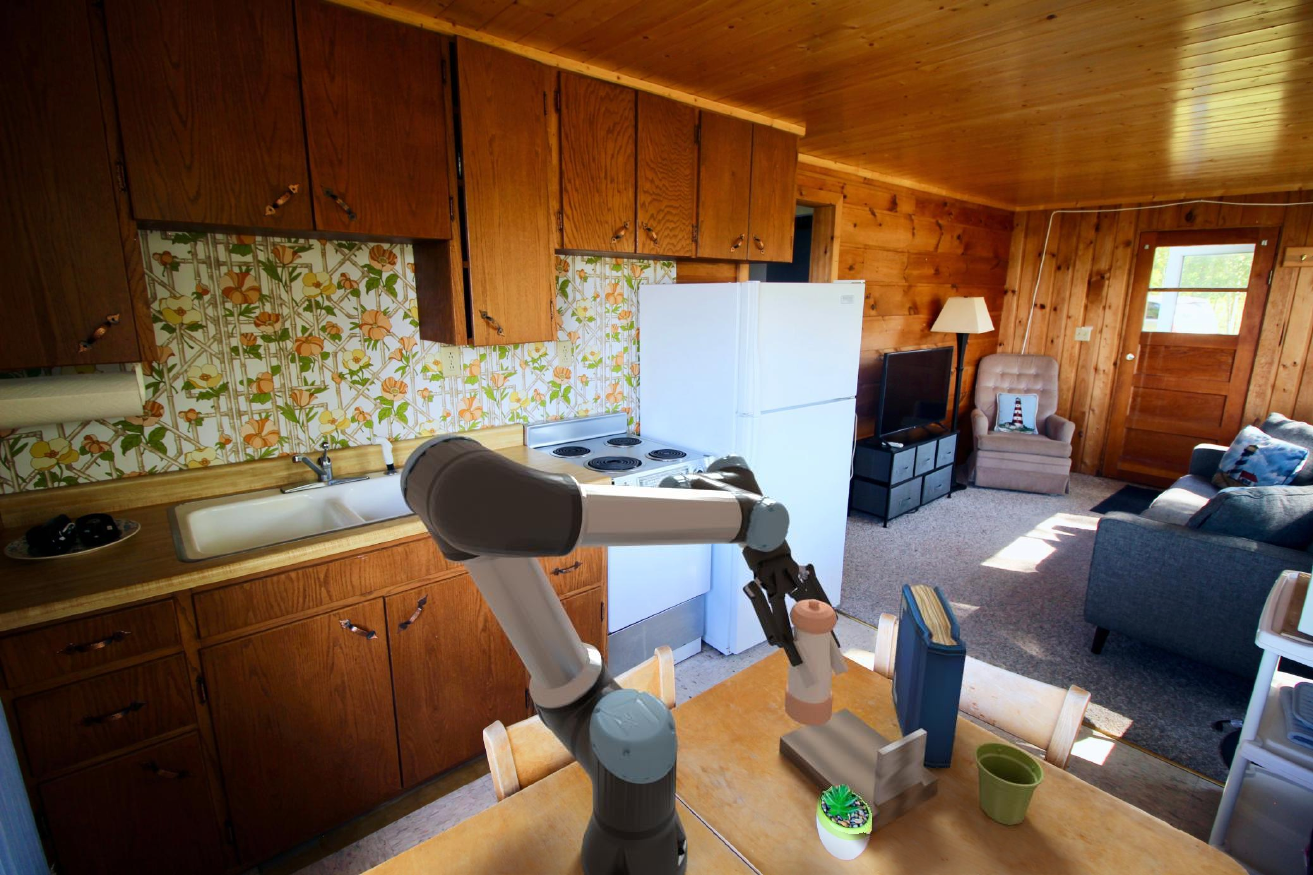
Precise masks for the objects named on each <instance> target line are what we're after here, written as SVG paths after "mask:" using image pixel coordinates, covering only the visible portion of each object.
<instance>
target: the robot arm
mask: <svg viewBox="0 0 1313 875" xmlns="http://www.w3.org/2000/svg"><path fill="white" fill-rule="evenodd" d="M399 484H400V485H399V486H400V491H401V494H402V498H403V500H404V503H405V505H406V507H407V508H408V509H409V510H410V511H411V512H412V513H413V514H415V515H417V516H418V517H419V519H420V521H421V523H422V524H423V525H424V527H425V528H426V530H427V532H428V533H429V535H430V536H431V538H432V540H433V541H434V542H435V544H436V546H437V548H438V549H439V551H440V552H441V554H442V555H443V557H444V559H446V561H448V562H450V563H454V564H463V566H464V567H465V569H466V571H467V572H468V574H469V575H470V577H471V579H472V581H473V582H474V584H475V585H476V587H477V589H478V591H479V593H480V594H481V596H482V597H483V599H484V600H485V602H486V604H487V605H488V607H489V609H490V610H491V612H492V614H493V615H494V617H495V619H496V620H497V622H498V623H499V626H500V627H501V629H502V630H503V631H504V633H505V635H506V637H507V638H508V640H509V641H510V643H511V645H512V647H513V648H514V650H515V652H516V653H517V654H518V656H519V658H520V660H521V661H522V663H523V664H524V666H525V667H526V669H527V671H528V673H529V675H530V680H529V687H528V688H529V694H530V697H531V699H532V701H533V705H534V708H535V710H536V712H537V716H538V717H539V719H540V721H541V722H542V724H544V726H545V727H546V728H547V729H548V730H550V731H551V733H552V734H553V735H554V736H555V737H556V738H557V740H559V741H560V743H561V744H562V745H563V746H564V747H565V749H566V750H567V751H568V752H569V754H570V755H571V756H572V757H573V758H574V760H575V761H576V762H577V763H578V764H579V765H580V767H581V768H582V769H583V771H584V772H585V773H586V774H587V775H588V776H589V778H590V782H591V786H592V812H591V815H590V817H589V820H588V823H587V827H586V829H585V832H584V835H583V837H582V843H581V867H582V872H583V875H685V872H686V870H687V866H688V840H687V835H686V830H685V828H684V826H683V823H682V820H681V818H680V815H679V812H678V809H677V806H676V805H677V804H676V801H677V799H676V798H677V794H676V792H677V763H678V760H677V759H678V758H677V756H678V746H679V744H678V737H677V736H678V735H677V729H676V722H675V719H674V715H673V714H672V712H671V710H670V709H669V707H668V706H667V705H666V703H665V702H664V701H663V700H662V699H660V698H659V697H657V696H656V695H654V694H652V693H650V692H648V691H646V690H645V691H642V692H639V691H638V689H635V688H623V687H622V686H621V685H620V684H619V683H618V682H617V681H616V680H615V679H614V677H613V675H612V674H611V672H610V670H609V668H608V666H607V664H606V663H605V661H604V659H603V657H602V656H601V653H600V652H599V650H598V649H597V648H596V647H595V646H594V645H592V644H589V643H587V642H582V640H581V638H580V636H579V634H578V632H577V631H576V628H575V627H574V625H573V622H572V621H571V619H570V617H569V616H568V613H567V611H566V610H565V608H564V606H563V604H562V603H561V601H560V598H559V597H558V595H557V592H556V590H554V587H553V586H552V584H551V582H550V580H549V578H548V576H547V575H546V572H545V571H544V569H543V567H542V565H541V563H540V561H539V559H538V558H555V557H557V558H559V557H567V556H569V555H570V554H572V553H573V552H574V551H575V550H576V549H577V548H597V547H598V548H600V547H605V548H606V547H635V546H636V547H641V546H644V547H645V546H646V547H647V546H677V545H679V546H681V545H683V546H685V545H688V546H689V545H723V544H724V545H725V544H727V545H728V544H729V545H730V544H731V545H732V544H733V545H735V544H737V545H738V547H739V548H741V549H742V552H741V553H742V556H743V558H744V560H745V562H746V565H747V567H748V569H749V570H750V571H752V572H753V573H752V574H753V580H751V581H749V582H748V583H746V584H745V585H744V586H743V587H742V591H743V592H744V593H743V594H745V595H746V596H747V597H748V599H749V600H750V603H751V605H752V607H753V609H754V612H755V614H756V617H757V619H758V621H759V623H760V626H761V629H762V630H763V634H764V635H765V638H766V640H767V643H768V645H769V646H771V647H774V646H776V647H778V648H779V649H783V650H784V653H785V654H786V657H787V659H788V661H789V664H790V663H791V665H792V666H793V667H795V666H796V668H797V670H798V672H799V674H800V676H801V678H802V681H803V683H804V685H805V687H806V689H807V688H809V687H811V686H813V685H816V684H818V683H820V682H819V680H818V678H817V676H816V673H815V671H814V669H813V667H812V665H811V663H810V661H809V659H808V657H807V655H806V652H805V650H804V648H803V646H802V644H801V642H800V640H798V641H795V642H793V641H794V631H793V629H792V626H791V624H792V623H791V619H790V615H789V611H788V607H787V603H786V597H787V596H786V595H788V597H790V599H793V600H794V601H795V603H797V602H799V601H802V600H811V599H815V600H818V601H821V602H824V603H826V604H828V605H830V606H831V607H832V608H833V610H834V611H835V614H836V617H837V621H838V620H839V615H838V614H837V612H836V610H835V608H834V607H833V605H832V603H831V601H830V599H829V597H828V596H827V594H826V591H825V590H824V588H823V586H822V585H821V583H820V580H819V579H818V577H817V574H816V571H815V566H814V564H812V563H808V564H806V565H799V564H798V562H797V561H795V559H793V557H792V550H791V548H790V545H789V543H788V541H787V540H786V538H787V536H788V532H789V526H790V514H789V512H788V509H787V508H786V507H785V505H784V504H782V502H779V501H777V500H775V499H772V498H770V497H769V496H767V495H765V496H764V494H763V492H762V490H761V487H760V486H759V484H758V482H757V480H756V477H755V474H754V471H752V470H751V468H750V466H749V465H748V463H747V461H746V460H745V458H744V457H743V456H741V455H740V454H728V455H726V456H722V457H719V458H718V459H716V460H714V461H713V462H712V463H710V464H709V466H708V467H706V470H705V472H694V473H693V472H692V473H682V472H681V473H679V474H675V475H674V474H673V475H670V476H669V475H668V476H666V477H664V478H663V479H662V480H661V481H660V482H659V485H658V486H657V487H656V486H636V485H623V484H622V485H620V484H619V485H616V484H601V483H584V482H583V483H581V482H580V483H579V481H578V480H577V479H576V478H575V477H574V476H573V475H571V474H568V473H558V472H557V473H556V472H550V471H549V472H548V471H544V470H540V469H538V468H537V469H536V468H533V467H530V466H527V465H525V464H522V463H520V462H517V461H515V460H513V459H511V458H509V457H508V456H507V457H506V456H504V455H503V454H500V453H498V452H496V451H494V450H491V449H490V448H488V447H485V446H483V444H482V443H481V442H480V441H478V440H476V439H473V438H471V437H467V436H463V435H457V434H444V435H439V436H435V437H433V438H430V439H428V440H426V441H424V442H422V443H420V445H419V446H417V447H416V448H415V449H414V450H413V451H412V452H411V453H410V455H409V456H407V458H406V461H405V462H404V464H403V467H402V471H401V473H400V479H399ZM762 589H763V590H764V591H765V592H766V595H765V592H763V590H762ZM769 604H770V605H769ZM834 631H835V630H834V628H833V629H832V630H831V636H830V659H831V668H832V672H833V673H834V675H835V676H836V677H837V676H839V675H841V674H844V673H846V672H848V671H849V670H850V668H849V666H848V664H847V662H846V660H845V658H844V656H843V654H842V652H841V650H840V649H841V648H842V647H841V644H840V642H839V639H838V637H837V635H836V634H835V632H834Z"/></svg>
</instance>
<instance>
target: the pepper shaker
mask: <svg viewBox="0 0 1313 875" xmlns="http://www.w3.org/2000/svg"><path fill="white" fill-rule="evenodd" d="M833 608H834V607H833ZM833 608H832V607H831V606H830V605H828V604H826V603H824V602H821V601H818V600H815V599H811V600H802V601H799V602H795V604H793V606H792V607H791V609H790V612H789V613H788V615H789V620H790V623H791V624H792V625H793V626H794V627H793V637H794V641H793V642H795V641H798V640H800V642H801V644H802V646H803V648H804V650H805V652H806V655H807V657H808V659H809V661H810V663H811V665H812V667H813V669H814V671H815V673H816V676H817V678H818V680H819V682H820V683H818V684H816V685H813V686H811V687H809V688H807V689H806V687H805V685H804V683H803V681H802V678H801V676H800V674H799V672H798V670H797V668H796V666H795V667H793V666H792V665H791V663H790V662H789V664H788V672H787V674H788V675H787V684H786V686H785V691H784V692H785V693H784V710H785V713H786V714H787V716H788V717H789V718H790V719H792V720H793V721H794V722H797V723H799V724H801V725H804V726H806V725H811V726H817V725H822V724H824V723H826V722H828V721H829V719H830V718H831V715H832V714H833V700H834V694H833V691H832V689H831V688H832V681H833V680H832V679H833V669H832V667H831V659H830V636H831V630H832V629H833V630H834V628H835V627H836V625H837V621H838V620H837V617H836V614H837V613H836V614H835V612H836V610H835V609H834V610H835V611H834V610H833Z"/></svg>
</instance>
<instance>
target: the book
mask: <svg viewBox="0 0 1313 875" xmlns="http://www.w3.org/2000/svg"><path fill="white" fill-rule="evenodd" d="M960 629H961V627H960V625H959V622H958V620H957V617H956V615H955V614H954V611H953V609H952V607H951V605H950V603H949V601H948V599H947V598H946V595H945V594H944V592H943V590H942V589H941V588H939V587H938V586H937V585H936V586H935V587H934V588H931V587H929V586H925V585H923V584H920V585H919V584H918V585H914V586H910V585H909V584H908V583H905V584H904V585H902V586H901V595H900V606H899V615H898V626H897V635H896V644H895V645H896V646H895V655H894V665H893V666H894V667H893V672H892V674H893V675H892V684H891V685H892V686H891V694H892V698H893V699H892V700H893V703H894V707H895V711H896V716H897V720H898V723H899V727H900V730H901V734H902V738H904V737H906V736H907V735H909V734H911V733H913V732H915V731H917V730H919V729H921V728H922V729H923V730H925V731H926V732H927V737H926V746H925V755H924V763H923V766H924V767H925V768H927V769H928V768H929V769H932V770H934V769H951V765H952V759H953V751H954V745H955V737H956V732H957V731H956V730H957V722H958V714H959V709H960V702H961V692H962V685H963V679H964V672H965V664H966V657H967V647H966V642H964V640H963V639H961V637H960V636H961V634H960V633H961V630H960Z"/></svg>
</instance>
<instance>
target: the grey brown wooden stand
mask: <svg viewBox="0 0 1313 875" xmlns="http://www.w3.org/2000/svg"><path fill="white" fill-rule="evenodd" d="M926 737H927V732H926V731H925V730H923V729H922V728H921V729H919V730H917V731H915V732H913V733H911V734H909V735H907V736H906V737H901V738H900V739H898V740H896V741H894V742H892V741H891V740H889V739H887V738H886V737H885V736H884V735H882V734H881V733H879V732H878V731H877V730H875V729H874V728H873V727H871V726H870V725H869V724H868V723H866V722H865V721H863V720H862V719H861V718H859V717H858V716H857V715H856V714H854V713H853V712H851V711H850V710H849V709H848V708H846V707H844V708H842V709H840V710H838V711H836V712H832V715H831V718H830V719H829V721H828V722H826V723H824V724H822V725H817V726H811V725H803V726H802V727H799V728H797V729H795V730H792V731H790V732H788V733H785V734H784V735H781V736H779V747H778V748H779V750H778V751H779V753H780V754H781V755H782V756H783V757H784V758H785V759H786V760H787V761H788V762H790V764H792V766H793V767H795V768H796V769H797V770H798V771H799V772H800V773H801V774H802V775H804V776H805V778H806V779H808V780H809V782H810V783H811V784H813V785H814V786H815V787H816V788H817V789H818V790H819V791H820V792H821V793H822V792H823V791H826V790H828V789H829V788H830V787H831V786H838V785H842V784H844V785H848V786H849V788H850V790H851V791H853V793H855V794H856V795H858V796H860V797H861V798H862V800H863V801H864V802H865V803H867V805H868V807H870V810H871V813H872V831H871V834H872V833H874V832H876V831H878V830H880V829H881V828H883V827H884V826H886V825H887V824H889V823H891V822H893V821H894V820H896V819H898V818H899V817H901V816H903V815H905V814H907V813H908V812H910V811H912V810H913V809H915V808H917V807H918V806H920V805H921V804H923V803H925V802H927V801H929V800H930V799H931V798H933V797H935V796H936V795H938V792H939V791H938V790H939V784H940V783H939V782H940V777H939V776H937V775H936V774H934V773H933V772H931V771H930V770H929V769H928V768H927V767H925V766H923V763H924V755H925V746H926Z"/></svg>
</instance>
